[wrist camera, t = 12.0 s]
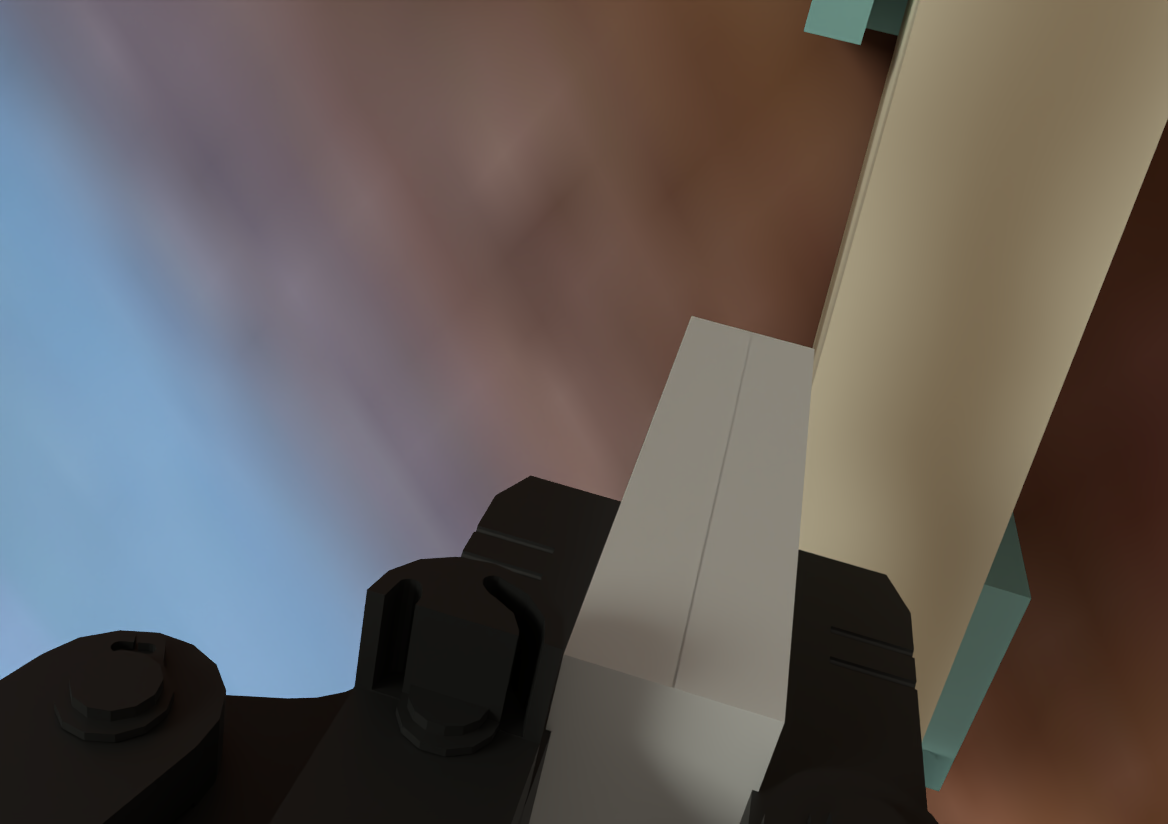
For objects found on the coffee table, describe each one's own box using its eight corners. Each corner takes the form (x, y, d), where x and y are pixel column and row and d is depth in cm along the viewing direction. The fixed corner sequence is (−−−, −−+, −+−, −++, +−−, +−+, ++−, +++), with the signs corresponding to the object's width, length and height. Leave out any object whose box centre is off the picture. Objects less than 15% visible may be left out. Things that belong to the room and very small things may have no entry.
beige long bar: (751, 570, 27) (724, 698, 23) (945, -139, 20) (963, -152, 16) (912, 614, 27) (917, 754, 22) (1171, -100, 19) (1255, -104, 15)
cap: (653, 593, 29) (622, 686, 26) (703, 414, 27) (676, 491, 23) (932, 681, 28) (938, 791, 25) (1010, 504, 26) (1030, 598, 22)
